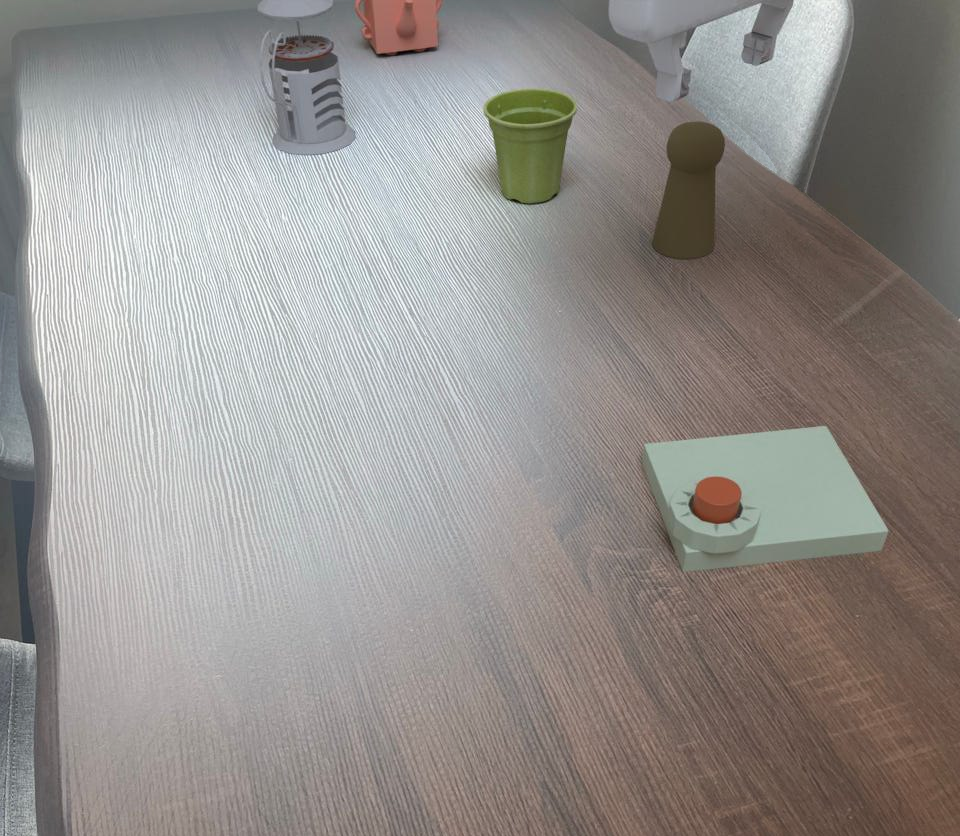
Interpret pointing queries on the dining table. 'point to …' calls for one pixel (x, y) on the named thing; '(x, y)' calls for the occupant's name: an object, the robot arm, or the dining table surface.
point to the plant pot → (530, 140)
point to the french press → (305, 83)
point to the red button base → (764, 499)
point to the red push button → (716, 500)
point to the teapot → (400, 24)
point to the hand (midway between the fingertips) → (714, 79)
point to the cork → (690, 192)
